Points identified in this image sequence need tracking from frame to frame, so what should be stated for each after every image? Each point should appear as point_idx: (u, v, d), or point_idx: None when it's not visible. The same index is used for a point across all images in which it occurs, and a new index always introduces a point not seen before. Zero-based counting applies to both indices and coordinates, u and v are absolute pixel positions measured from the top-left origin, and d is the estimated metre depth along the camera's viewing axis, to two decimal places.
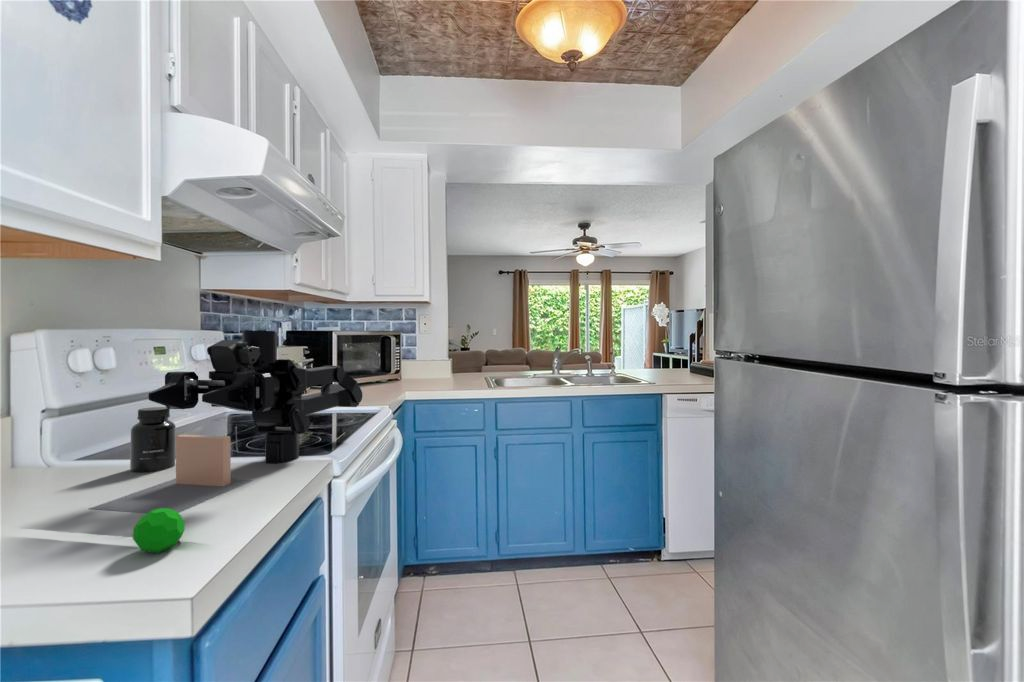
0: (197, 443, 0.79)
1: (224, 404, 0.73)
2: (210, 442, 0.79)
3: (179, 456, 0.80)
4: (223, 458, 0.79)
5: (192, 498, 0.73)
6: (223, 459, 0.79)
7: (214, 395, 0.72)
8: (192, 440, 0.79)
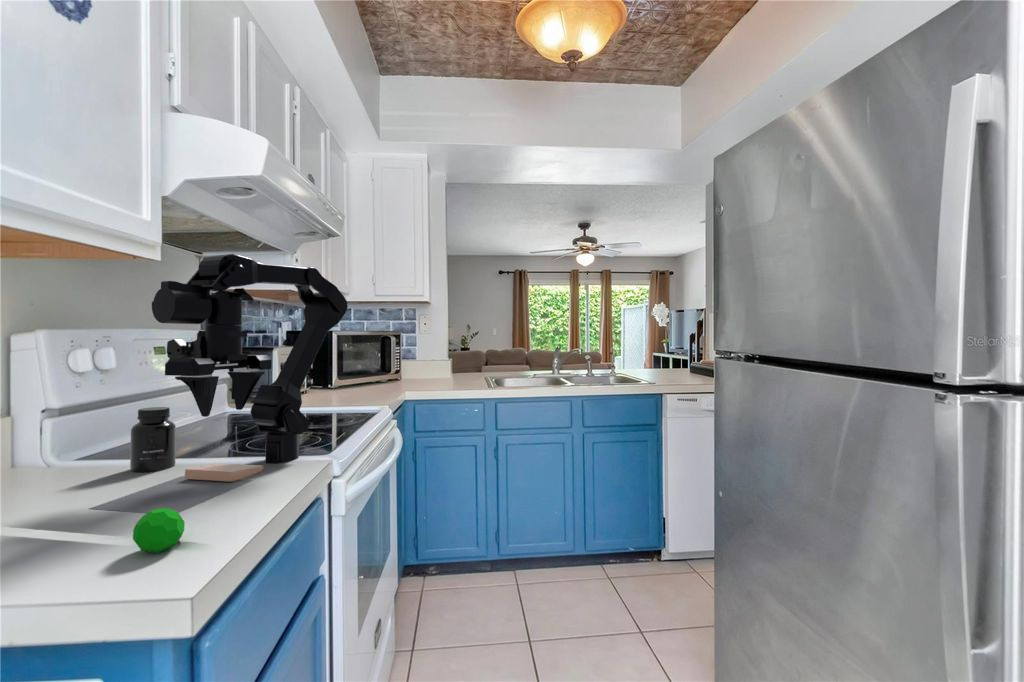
0: (236, 465, 0.88)
1: (207, 400, 0.79)
2: (248, 465, 0.88)
3: (209, 465, 0.86)
4: (250, 468, 0.85)
5: (192, 498, 0.73)
6: (249, 468, 0.85)
7: (201, 408, 0.80)
8: (233, 464, 0.89)
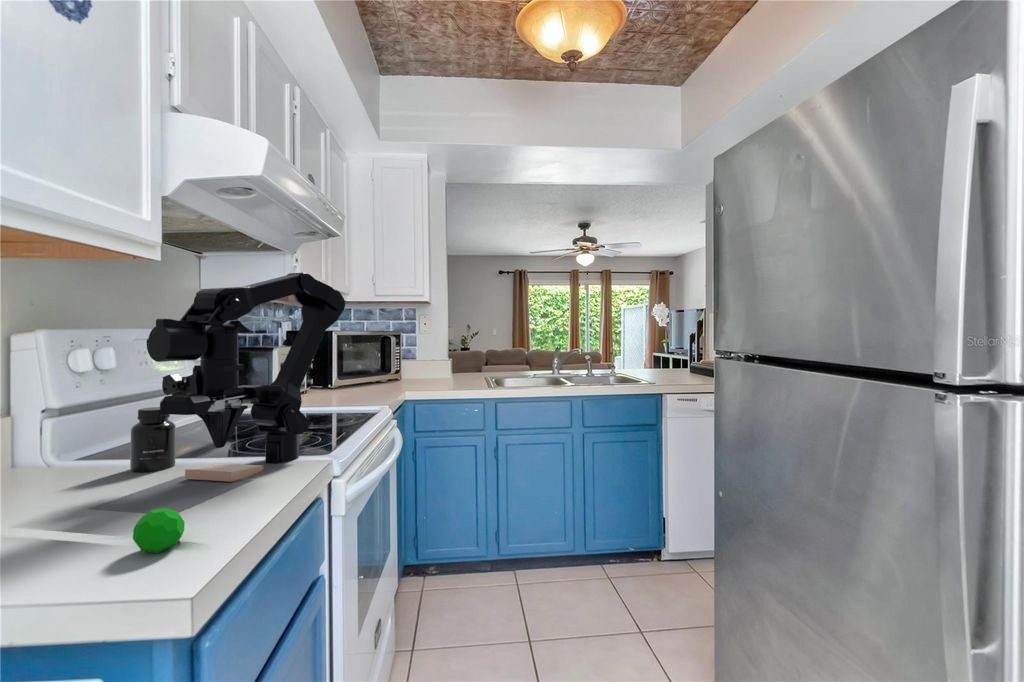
0: (236, 465, 0.88)
1: (220, 432, 0.82)
2: (248, 465, 0.88)
3: (209, 465, 0.86)
4: (250, 468, 0.85)
5: (192, 498, 0.73)
6: (249, 468, 0.85)
7: (215, 440, 0.83)
8: (233, 464, 0.89)
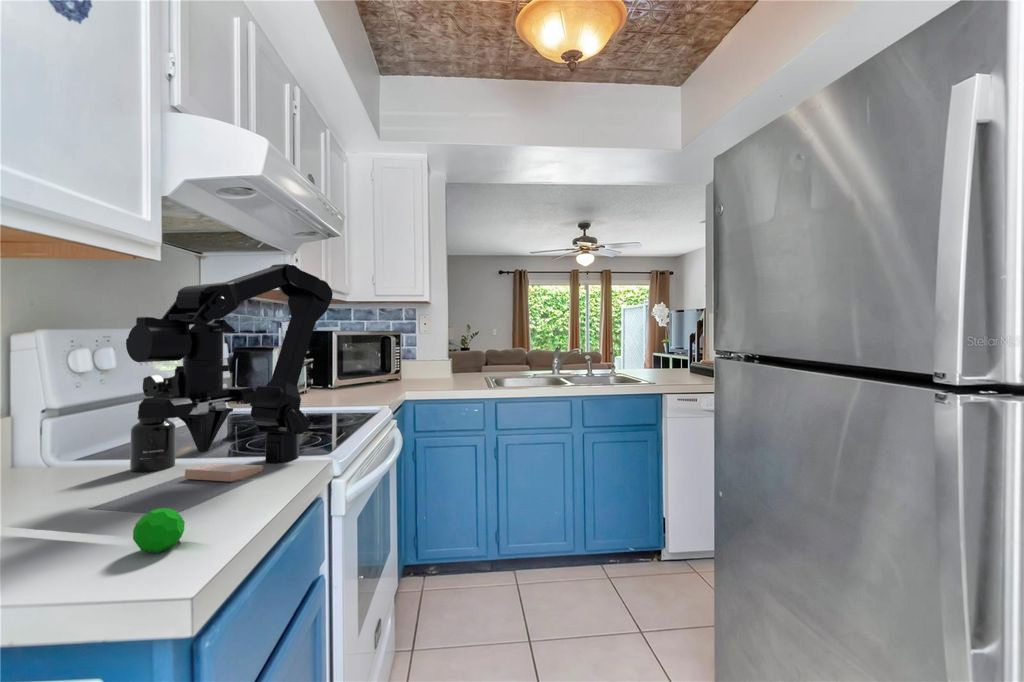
0: (236, 465, 0.88)
1: (204, 436, 0.79)
2: (248, 465, 0.88)
3: (209, 465, 0.86)
4: (250, 468, 0.85)
5: (192, 498, 0.73)
6: (249, 468, 0.85)
7: (198, 444, 0.79)
8: (233, 464, 0.89)
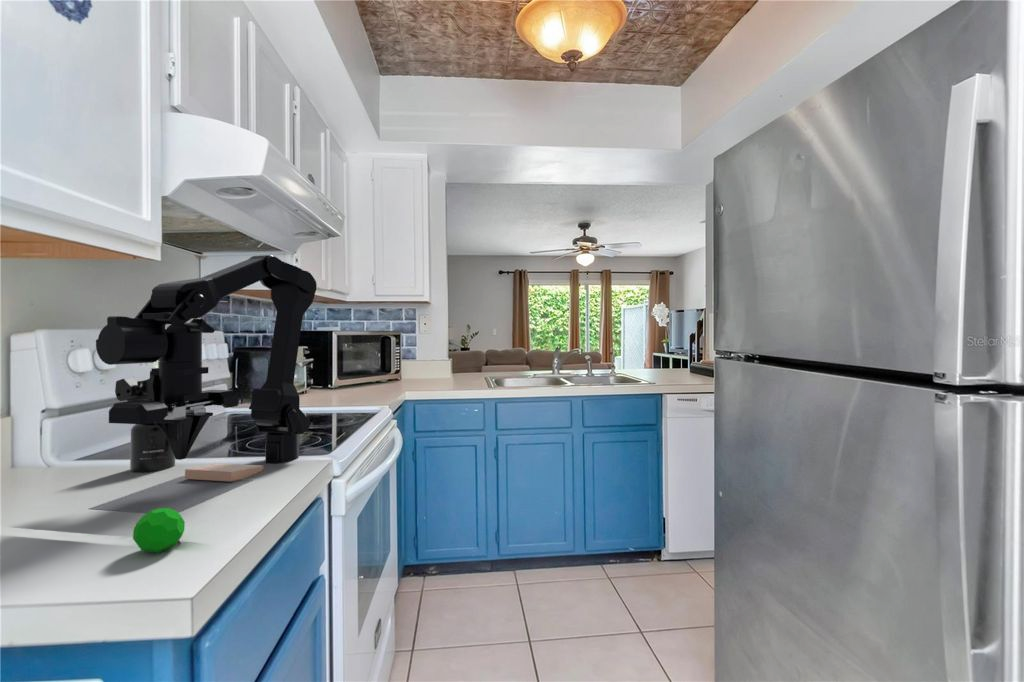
0: (236, 465, 0.88)
1: (181, 442, 0.74)
2: (248, 465, 0.88)
3: (209, 465, 0.86)
4: (250, 468, 0.85)
5: (192, 498, 0.73)
6: (249, 468, 0.85)
7: (175, 451, 0.75)
8: (233, 464, 0.89)
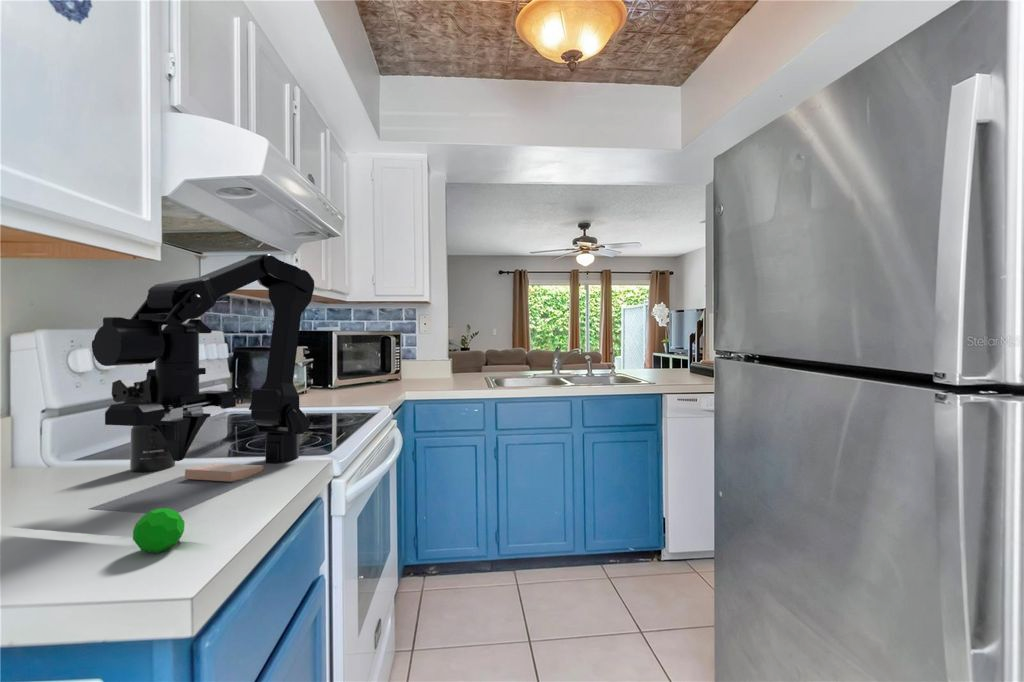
0: (236, 465, 0.88)
1: (178, 444, 0.74)
2: (248, 465, 0.88)
3: (209, 465, 0.86)
4: (250, 468, 0.85)
5: (192, 498, 0.73)
6: (249, 468, 0.85)
7: (172, 452, 0.74)
8: (233, 464, 0.89)
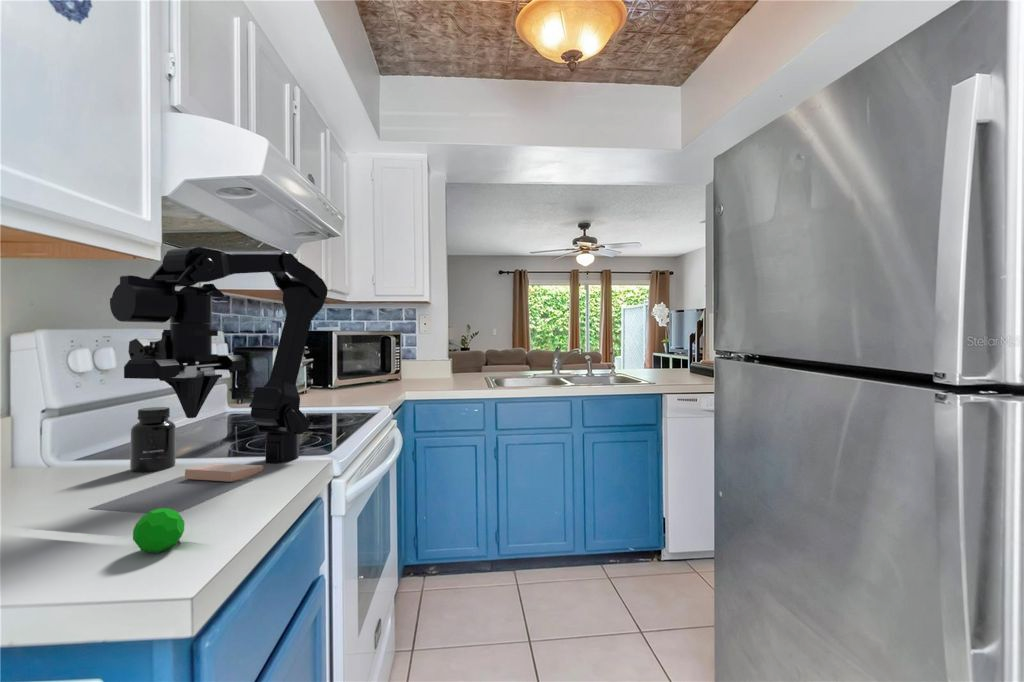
0: (236, 465, 0.88)
1: (192, 401, 0.77)
2: (248, 465, 0.88)
3: (209, 465, 0.86)
4: (250, 468, 0.85)
5: (192, 498, 0.73)
6: (249, 468, 0.85)
7: (186, 409, 0.78)
8: (233, 464, 0.89)
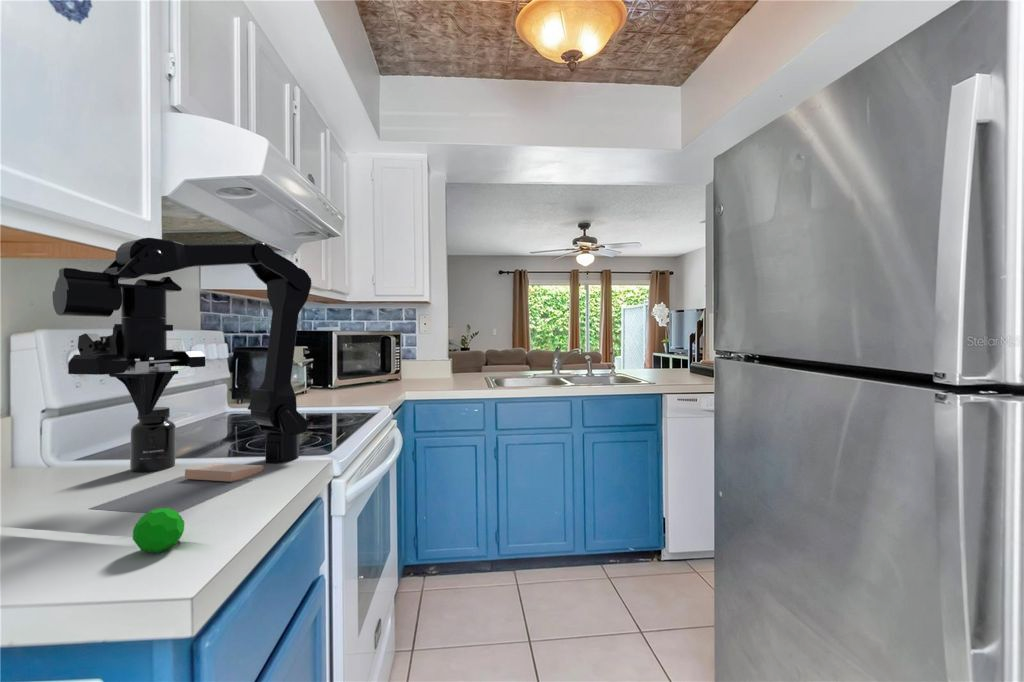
0: (236, 465, 0.88)
1: (144, 398, 0.74)
2: (248, 465, 0.88)
3: (209, 465, 0.86)
4: (250, 468, 0.85)
5: (192, 498, 0.73)
6: (249, 468, 0.85)
7: (139, 407, 0.75)
8: (233, 464, 0.89)
